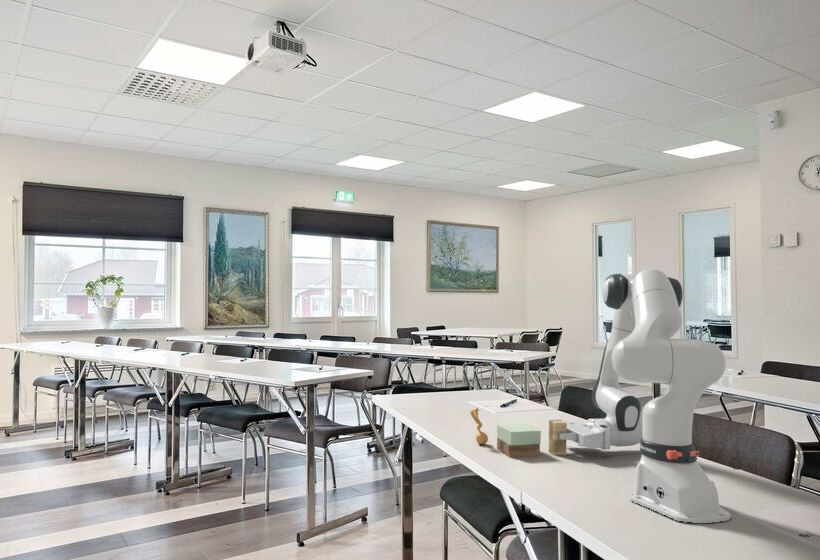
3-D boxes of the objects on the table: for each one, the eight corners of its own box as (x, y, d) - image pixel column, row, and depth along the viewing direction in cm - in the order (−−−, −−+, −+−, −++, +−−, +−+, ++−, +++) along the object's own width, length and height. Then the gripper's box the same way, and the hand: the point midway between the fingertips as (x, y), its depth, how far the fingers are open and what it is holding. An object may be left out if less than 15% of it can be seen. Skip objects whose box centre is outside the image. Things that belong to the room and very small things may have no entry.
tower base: (539, 457, 182) (539, 444, 182) (509, 458, 180) (509, 445, 180) (526, 448, 192) (526, 436, 192) (496, 450, 190) (497, 437, 190)
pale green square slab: (540, 443, 183) (540, 430, 183) (510, 445, 180) (511, 432, 180) (525, 436, 192) (525, 423, 193) (497, 437, 190) (497, 425, 190)
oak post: (566, 454, 184) (566, 422, 184) (554, 455, 183) (554, 422, 184) (560, 451, 188) (560, 419, 188) (548, 452, 187) (549, 420, 188)
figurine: (491, 447, 191) (491, 410, 192) (472, 447, 190) (473, 410, 191) (484, 441, 199) (485, 405, 200) (466, 441, 199) (467, 405, 199)
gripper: (579, 416, 199) (541, 417, 196) (612, 429, 179) (570, 431, 176) (579, 435, 199) (540, 436, 196) (612, 451, 179) (570, 452, 176)
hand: (555, 434), depth 186 cm, fingers closed on oak post, 4 cm apart
